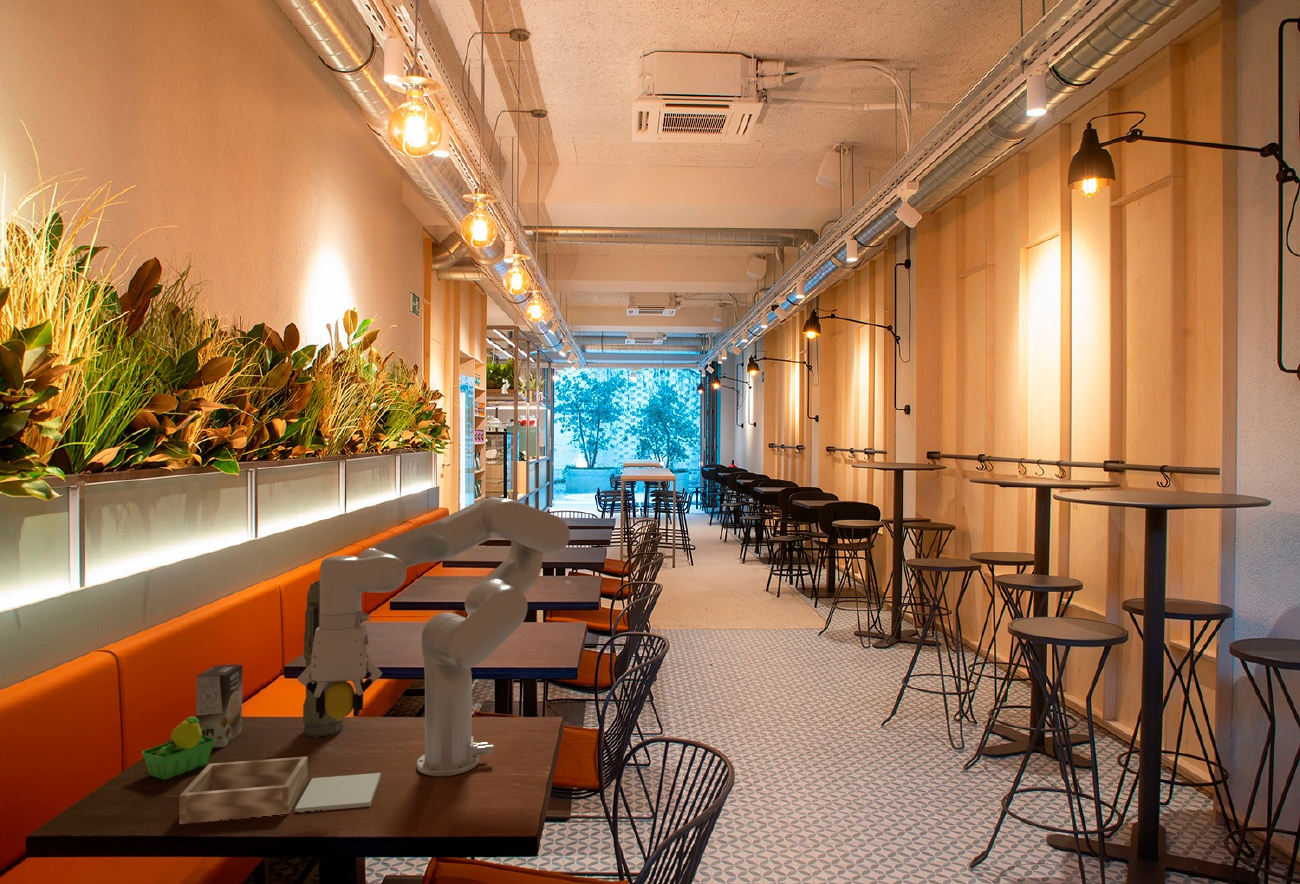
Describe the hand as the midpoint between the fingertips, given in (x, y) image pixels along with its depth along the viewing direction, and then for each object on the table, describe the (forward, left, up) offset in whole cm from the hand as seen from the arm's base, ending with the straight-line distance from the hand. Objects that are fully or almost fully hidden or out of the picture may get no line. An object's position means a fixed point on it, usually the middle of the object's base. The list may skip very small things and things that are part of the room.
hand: (339, 714), depth 147 cm
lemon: (0, 0, -1) cm, 1 cm away
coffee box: (+32, -34, -16) cm, 49 cm away
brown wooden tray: (+16, 0, -15) cm, 22 cm away
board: (0, 0, -15) cm, 15 cm away
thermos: (+10, -36, -15) cm, 41 cm away
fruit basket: (+34, -18, -16) cm, 42 cm away
